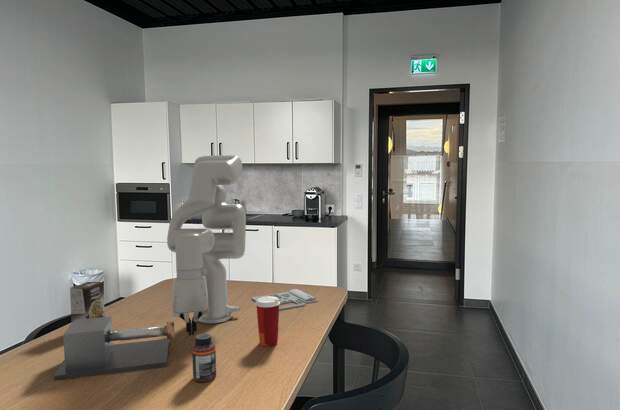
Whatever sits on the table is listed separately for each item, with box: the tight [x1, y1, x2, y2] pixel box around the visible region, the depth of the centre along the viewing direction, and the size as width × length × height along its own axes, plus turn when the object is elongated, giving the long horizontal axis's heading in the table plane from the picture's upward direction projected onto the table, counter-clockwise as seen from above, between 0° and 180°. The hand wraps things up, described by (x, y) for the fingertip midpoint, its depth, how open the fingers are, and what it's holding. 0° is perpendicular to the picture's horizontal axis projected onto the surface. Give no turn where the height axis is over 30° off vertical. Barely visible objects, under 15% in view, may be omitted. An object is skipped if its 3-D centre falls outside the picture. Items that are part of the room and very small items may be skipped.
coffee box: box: [69, 281, 106, 323], centre depth 149 cm, size 9×6×16 cm
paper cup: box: [254, 296, 281, 347], centre depth 136 cm, size 8×8×14 cm
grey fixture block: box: [53, 316, 170, 381], centre depth 126 cm, size 28×18×11 cm, turn 105°
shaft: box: [107, 320, 176, 343], centre depth 127 cm, size 22×5×5 cm, turn 105°
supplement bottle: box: [191, 333, 217, 383], centre depth 114 cm, size 6×6×11 cm
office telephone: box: [251, 288, 319, 312], centre depth 181 cm, size 23×3×20 cm
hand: (191, 333), depth 131 cm, fingers closed
